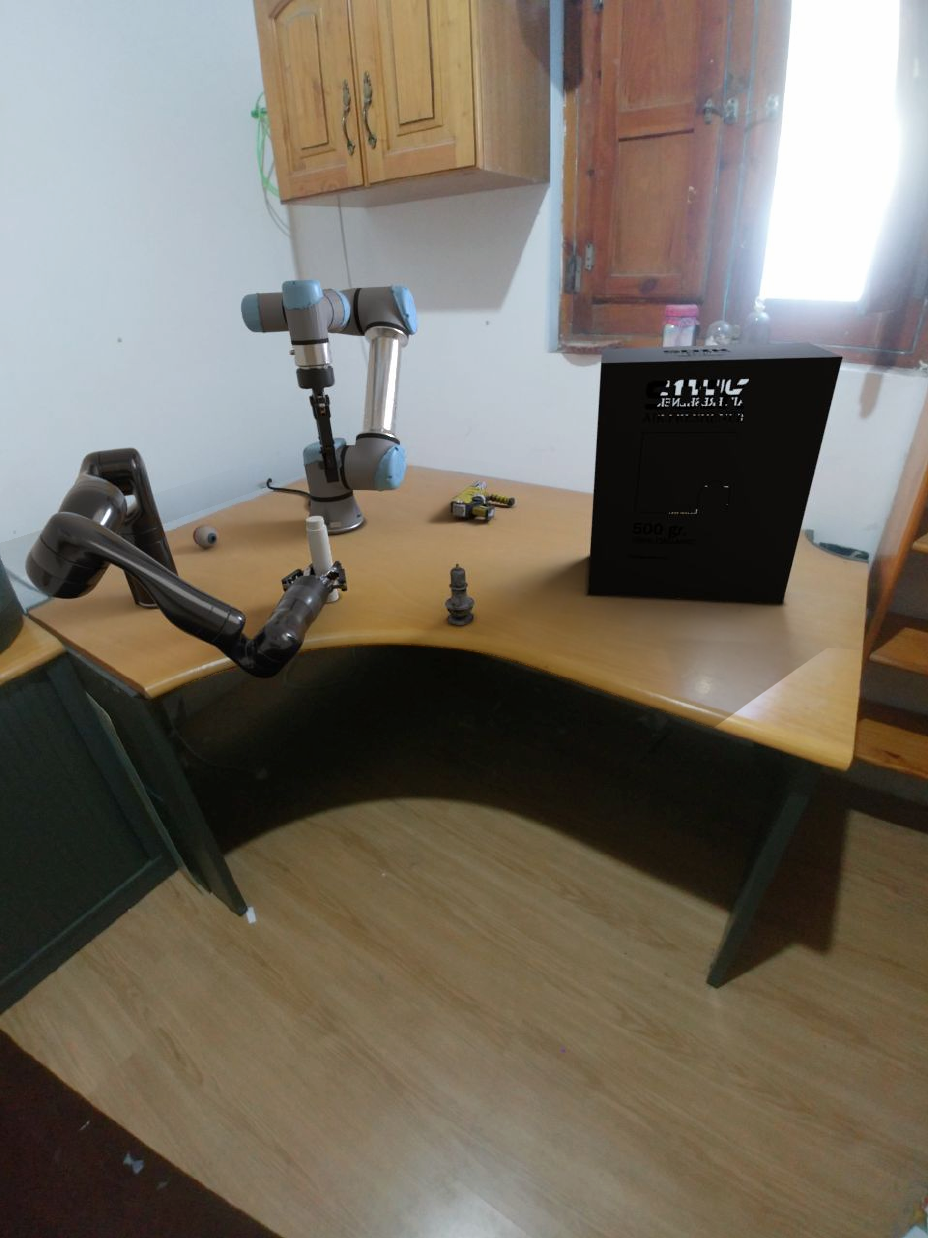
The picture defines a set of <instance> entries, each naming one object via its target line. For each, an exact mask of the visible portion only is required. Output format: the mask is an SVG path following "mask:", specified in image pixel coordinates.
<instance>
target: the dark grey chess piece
mask: <svg viewBox="0 0 928 1238" xmlns="http://www.w3.org/2000/svg"><path fill="white" fill-rule="evenodd" d="M449 575H450V583H449V585H448V586H449V589H450V594H451V595H450V597H449V598H447V599H446V600H445V601H444V606H445V608H446V610H447V612H448V613H449V615H447V618H446V620H447V622H448V623H450V625H451V624H452V625H453V626H464V625H468V624H470V623H472V622H473V621H474V619H475V616H474V614H473V613H472V611H473V609H474V606H475V600H474V598H472V597H471V596H469V595H468V593H467V592H468V591H467V588H468V586H469V583H467V580H466V570H465V568H463V567H461V566H460V564H459V563H456V564H455V567H453V568H451V570H450V573H449Z"/></svg>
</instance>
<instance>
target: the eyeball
mask: <svg viewBox="0 0 928 1238" xmlns="http://www.w3.org/2000/svg"><path fill="white" fill-rule="evenodd" d="M192 538H193V541H194V543H195V544H196V545H197V546H198V547H200V548H202V549H209V548H212V547H214V546H215V545H216V544H217V543H218V540H219V534H218V532H217V530H216V529H215V528H214V527H213V526H210V525H208V524H201V525H198V527H196V528H195V529H194V531H193V533H192Z"/></svg>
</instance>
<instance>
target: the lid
mask: <svg viewBox="0 0 928 1238" xmlns="http://www.w3.org/2000/svg"><path fill="white" fill-rule="evenodd" d="M317 460H318V461H317V463H318V468H319V469H320V470H325V468H324V462H323V456H321V457H319V458H318V459H317ZM336 462H337V468H340V467H341V466H342V462H341V458H340V456H339V455H336Z"/></svg>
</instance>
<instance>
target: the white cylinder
mask: <svg viewBox="0 0 928 1238" xmlns="http://www.w3.org/2000/svg"><path fill="white" fill-rule="evenodd" d="M305 523H306V527H305V531H306V537H307V541H308V547H309V553H310V557H311V562H312V563H313V568H314V573H315V575H320V574H321V573H323V572H324V571H325V570H330V569H331V567H332V566H333V564H334V563H333V557H332V551H331V545H330V540H329V535H328V534H327V528H326V525H325V524H324V520H323V517H322V516H312V517H309V516H308V517H306V519H305ZM335 582H336V581H335ZM335 582H334V583H335ZM339 596H340V595H339V592H338V589H334V591H333V592H332V593H330V594H329V595H328V599H327V601H326V603H327V604H329V603H334V602H335V601H338V599H339ZM326 603H325V604H326Z"/></svg>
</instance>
